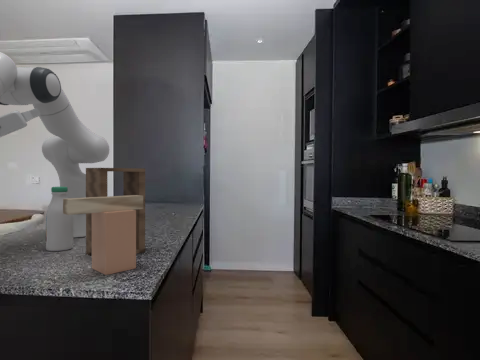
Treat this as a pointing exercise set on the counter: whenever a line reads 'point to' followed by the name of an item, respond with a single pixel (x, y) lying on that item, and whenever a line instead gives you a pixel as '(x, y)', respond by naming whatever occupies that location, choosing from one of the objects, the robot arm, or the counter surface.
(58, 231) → the milk bottle
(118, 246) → the pedestal
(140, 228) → the wooden open box
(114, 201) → the bar
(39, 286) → the counter surface
